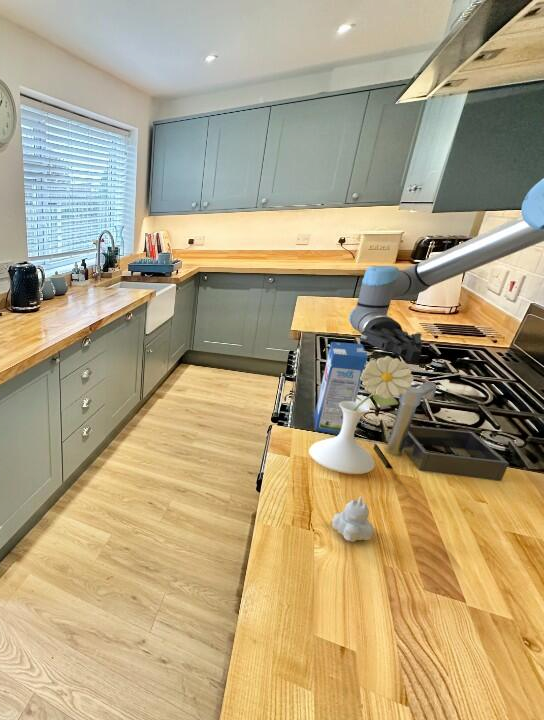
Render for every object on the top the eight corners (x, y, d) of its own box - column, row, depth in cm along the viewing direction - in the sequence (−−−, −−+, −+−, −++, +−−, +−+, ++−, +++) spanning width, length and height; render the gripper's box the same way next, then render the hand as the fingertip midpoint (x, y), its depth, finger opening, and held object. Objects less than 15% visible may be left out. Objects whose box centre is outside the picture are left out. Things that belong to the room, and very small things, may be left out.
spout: (419, 393, 90) (424, 376, 89) (438, 398, 87) (444, 381, 86) (394, 406, 86) (399, 388, 84) (413, 411, 83) (419, 394, 81)
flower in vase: (302, 467, 89) (328, 357, 79) (312, 444, 97) (336, 341, 87) (380, 489, 81) (419, 370, 71) (384, 462, 89) (419, 351, 79)
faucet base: (395, 450, 92) (412, 396, 87) (410, 470, 86) (430, 413, 80) (373, 448, 94) (389, 394, 89) (386, 467, 87) (404, 410, 82)
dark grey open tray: (464, 454, 90) (473, 431, 88) (498, 488, 79) (509, 463, 77) (393, 446, 94) (400, 424, 92) (416, 477, 84) (424, 453, 82)
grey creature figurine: (370, 532, 71) (383, 494, 68) (367, 556, 66) (380, 516, 63) (332, 519, 74) (342, 482, 71) (326, 541, 70) (337, 502, 67)
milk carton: (346, 435, 99) (367, 356, 92) (315, 430, 102) (333, 353, 95) (343, 418, 107) (362, 344, 99) (314, 413, 110) (331, 341, 102)
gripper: (405, 343, 115) (446, 374, 95) (348, 341, 119) (376, 370, 99) (413, 317, 112) (458, 343, 92) (355, 315, 116) (385, 340, 96)
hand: (415, 357), depth 96 cm, fingers closed
